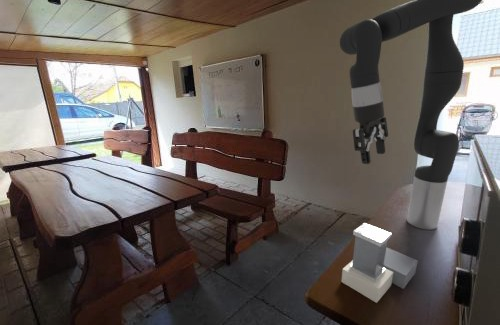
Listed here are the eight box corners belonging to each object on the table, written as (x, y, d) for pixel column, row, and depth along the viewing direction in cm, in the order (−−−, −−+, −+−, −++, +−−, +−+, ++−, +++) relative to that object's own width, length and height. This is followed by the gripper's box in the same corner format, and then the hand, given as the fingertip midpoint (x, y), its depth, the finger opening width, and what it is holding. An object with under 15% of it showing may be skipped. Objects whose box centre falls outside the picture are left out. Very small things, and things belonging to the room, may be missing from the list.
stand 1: (356, 267, 72) (358, 255, 71) (391, 285, 65) (393, 272, 64) (341, 281, 67) (342, 268, 66) (376, 303, 60) (378, 289, 59)
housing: (359, 259, 69) (364, 222, 66) (385, 271, 64) (391, 233, 61) (349, 269, 66) (353, 231, 62) (375, 283, 61) (381, 242, 58)
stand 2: (380, 257, 76) (382, 245, 74) (415, 273, 69) (417, 260, 68) (367, 270, 71) (369, 257, 70) (403, 288, 64) (406, 275, 63)
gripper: (367, 106, 64) (374, 168, 68) (393, 94, 72) (398, 150, 76) (340, 109, 70) (348, 166, 74) (367, 98, 78) (373, 149, 82)
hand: (374, 158), depth 75 cm, fingers open, 8 cm apart
